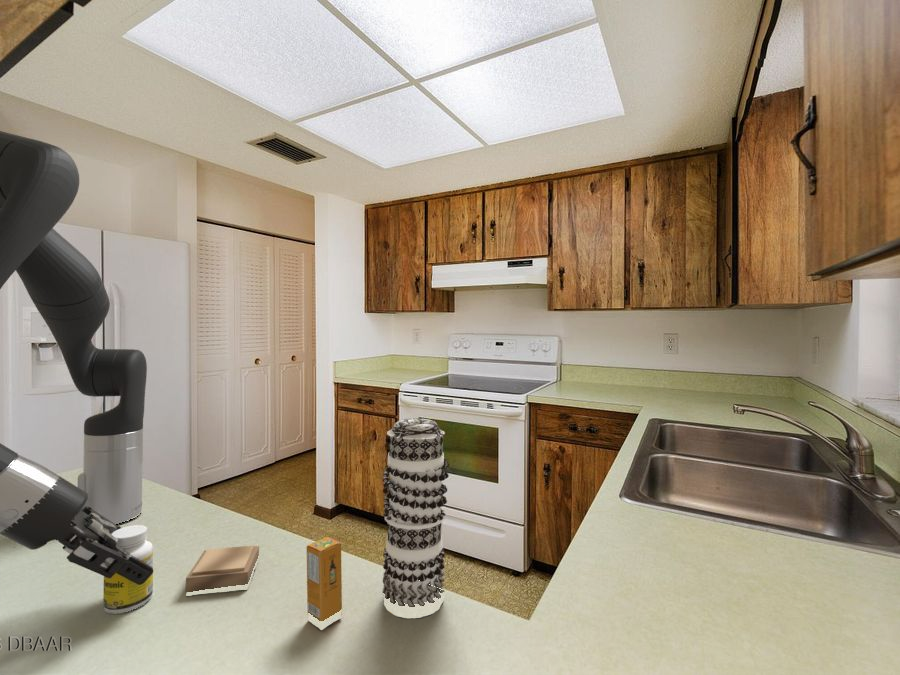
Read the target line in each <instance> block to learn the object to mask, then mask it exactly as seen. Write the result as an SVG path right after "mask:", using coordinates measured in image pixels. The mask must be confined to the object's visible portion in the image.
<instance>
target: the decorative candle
mask: <svg viewBox="0 0 900 675" xmlns="http://www.w3.org/2000/svg"><path fill="white" fill-rule="evenodd" d="M445 434H446V432H445V431H444V430H442V429H441V428H440V427H439V425H438V423H437V422H436V421H435V420H431V419H427V418H418V417H417V418H413V417H412V418H405V419H400V420H398V421H396V422H395V423H394V425H393V426H392V428H391V429H389V430H388V431H386V435H388V437H389V440H388V441H389V442H388V447H389V448H388V454H387V465H386V466H384V472H383V475H382V476H383V477H382V482H383V486H382V487H383V488H382V493H384V496H385V497H384V499H383V501H384V502H383V505H382V506H383V508H384V509H383V512H384V513H383V517H384V521H385V522H387V535H386V542H385V548H384V552H383V558H384V560H383V562H384V563H383V566H382V567H383V569H384V572H383V577H382V584H383V588H382V594H383V593H384V594H385V598H386V599H389V598H390V602H391V603H393V604H395V603H396V601H397V602H398V605H399V606H405V604H408V606H409V607H415V605H414V604H419V605H420V606H424V605H425V603H424V602H427V601H428V602H429V603H434V602H435V601H434V600H433V598H435V597H436V598H438V599H439V598H441V595H440V594H439V592H440V593H443V592H444V593H445V589H444V588H443V587H444V586H445V585H444V582H445V581H446V580H445V577H444V575H445V573H444V571H443V570H444V569H445V564H444V563H445V561H444V560H445V556H446V553H445V548H444V547H443V535H442V525H443V524H442V522H443V521H444V520H445V519H446V513H445V510H444V509H442V507H443V506H445V505H446V504H447V503H448V500H447V497H446V496H444V495H445V494H446V493H447V492H448V487H447V486H446V485H445V484H444V483H442V482H444V481H445V480H446V479H448V478H449V473H448V472H447V471H446V470H445V469H446V468H448V467H450V462H448V460H447V459H445V453H444V435H445ZM419 580H420V581H419ZM429 584H430V585H429ZM431 585H433V586H431ZM434 586H435V587H434ZM437 587H438V588H437ZM439 588H441V589H444V590H441V589H439ZM440 590H441V591H440ZM395 600H396V601H395ZM404 603H405V604H404Z"/></svg>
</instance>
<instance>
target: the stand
mask: <svg viewBox="0 0 900 675" xmlns="http://www.w3.org/2000/svg"><path fill="white" fill-rule="evenodd" d="M258 556H259V557H260V545H245V546H231V547H221V548H210V549H209V548H208V549H206V550H203V552H202V553H201V555H200V557H199V558H198V560H197V561H196V562H195V563H194V566H193V567H192V569H191V570H190V572H188V574H187V576H186V577H185V593H186V592H193V591H199V590H205V589H214V588H221V587H228V586H236V585H245V584H248V582H249V580H250V577H251V574H252V571H253V568H254V566H255V563H256V561H257V559H258Z"/></svg>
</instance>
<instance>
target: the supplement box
mask: <svg viewBox="0 0 900 675" xmlns="http://www.w3.org/2000/svg"><path fill="white" fill-rule="evenodd" d="M342 582H343V581H342V543H341V542H340V541H337V540H335V539H333V538H330V537H328V536H325V537H324V538H321V539H318V540H316V541H314V542H312V543H310V544H307V545H306V590H307V592H306V594H307V596H306V597H307V598H306V600H307V603H306V604H307V614H308V613H310V614H311V615H313V617H315V618H317V619H318V620H319V621H324V620H325V619H327V618H329V617H330V616H332V615H334V614H335V613H337V612H339V611H340V610H341V609H342V610H343V604H342V603H343V602H342V601H343V599H342V598H343V594H342V588H343V586H342V585H343V584H342Z"/></svg>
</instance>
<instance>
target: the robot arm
mask: <svg viewBox="0 0 900 675" xmlns="http://www.w3.org/2000/svg"><path fill="white" fill-rule="evenodd" d="M79 187H80V173H79V169H78V167H77V164H76V162H75V159H73V157H72V156H71V155H70V154H69V153H68V152H67V151H66V150H64V149H62V147H59V146H57V145H54V144H51V143H47V142H45V141H41V140H37V139H34V138H30V137H26V136H21V135H17V134H14V133H9V132H6V131H2V130H0V290H1V289H2V288H3V286H4V285H5V284H6V282H7V281H8V280H9V279H10V278H11V276H12V275H13V274H14V273H15V272H16V273H17V275H18V277H19V278H20V280H21V282H22V283H23V286H24V288H25V290H26V291H27V294H28V296H29V297H30V300H31V301H32V302H33V304H34V306H35V308H36V309H37V312H39V314H40V316H41V318H42V319H43V320H44V322H45V323H46V325H47V327H48V328H49V331H50V332H51V334H52V336H53V337H54V340H55V341H56V343H57V346H58V347H59V350H60V352H61V354H62V357H63V359H64V362H65V365H66V367H67V370H68V372H69V375H70V377H71V380H72V382H73V384H74V386H75V388H76V389H77V390H78V392H80V393H81V395H82V394H83V395H84V396H89V397H94V398H95V397H97V398H98V397H119V398H120V399H119V402H118V404H117V405H116V406H114V407H113V408H110V409H109V410H107V411H103V412H101V413H97V414H94V415H91V416H89V417H88V418H86V419H85V420H84V423H83V471H82V473H79V474H78V475H77V486H76V485H75V484H73V483H71V482H70V481H68V480H67V479H65V478H63V477H62V476H60V475H58V474H57V473H55V472H54V471H51V470H50V469H48V468H47V467H45V466H44V465H42V464H40V463H38V462H36V461H34V460H32V459H29V458H27V457H24V456H22V455H21V454H19V453H18V452H16V451H14V450H12V449H11V448H9V447H7V446H5V445H4V444H2V443H0V535H1V536H4V537H5V538H8V539H10V540H11V541H13V542H15V543H17V544H19V545H21V546H23V547H26V548H28V549H29V550H38V549H40V548H43V547H44V546H45V545H47V544H48V543H50V542H52V541H54V540H56V541H58V543H60V544H61V545H63V546H62V549H63V550H64V551H65V552H66V553H67V554H69V555H67V556H66V559H67V560H68V561H69V563H72V564H75V565H77V566H80V567H82V568H84V569H87V570H89V571H91V572H94V573H96V574H98V575H101V576H103V577H104V576H105V577H106V578H111V577H112V576H113V575H114V574H116V573H117V574H119V575H121V576H123V577H125V578H127V579H128V580H130V581H132V582H134V583H136V584H138V585H141V584H143V583H144V582H145V581H146V580H147V579H148V578H149V577H150V576H151V575H152V574H153V575H154V566H153V567H151V566H150V565H148V564H146V563H144V562H143V561H141V560H139V559H137V558H136V557H134V556H132V555H130V553H129V552H126V551H125V550H124V549H122V548H121V547H120V546H119V540H118V539H117V538H115V537H114V536H113V535H111V534H112V533H113V532H114V531H116V530H118V529H121V528H122V526H119V525H120V524H119V523H122V522H124V521H127V520H129V519H131V518H133V517H135V516H137V515H138V514H139V513H140V512H141V510H143V464H144V463H143V458H144V457H143V456H144V455H143V454H144V453H143V450H144V449H143V448H144V442H143V441H144V416H145V401H146V400H145V397H146V385H147V372H148V366H147V365H148V364H147V359H146V356H145V354H144V352H142V351H141V350H139V349H132V348H131V349H129V348H127V349H126V348H123V349H121V348H117V349H116V348H111V349H110V348H97V347H96V346H95V345H94V344H93V342H92V339H93V338H94V335H95V334H96V333H97V331H98V329H100V327H101V326H102V325H103V323H104V321H105V319H106V318H107V316H108V313H109V311H110V308H111V307H110V304H111V303H110V298H109V295H108V292H107V290H106V287H105V285H104V283H103V280H102V278H101V275H100V274H99V271H98V270H97V268H96V267H95V266H94V265H93V264H92V262H91V261H90V260H89V259H88V258H87V257H86V256H85V255H84V254H83V253H82V252H80V251H79V250H78V249H77V247H75V246H74V245H73V244H71V243H70V242H69V241H68V240H67V239H66V238H64V237H63V236H62V235H61V234H60V233H59V232H57V230H56V229H54V227H55V226H56V225H57V224H58V222H60V220H61V219H62V218H63V217H64V216H65V215H66V214H67V211H68V210H69V209H70V207H72V206H71V205H72V204H73V203H74V201H75V198H76V197H77V195H78V192H79V189H80V188H79ZM116 524H118V525H116ZM122 524H123V523H122ZM107 558H113V559H115V560H114V561H113V562H112V563H111V564H110V563H109V562H107V561H106V559H107Z"/></svg>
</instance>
